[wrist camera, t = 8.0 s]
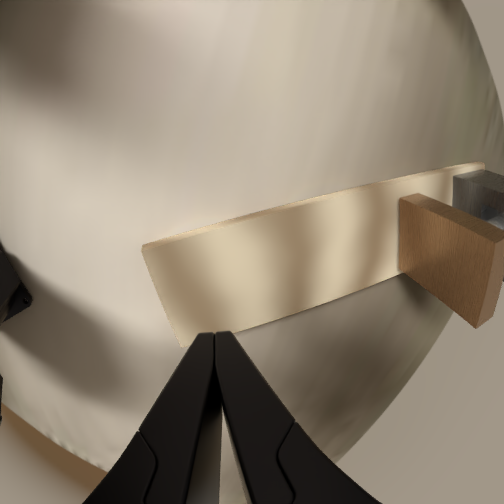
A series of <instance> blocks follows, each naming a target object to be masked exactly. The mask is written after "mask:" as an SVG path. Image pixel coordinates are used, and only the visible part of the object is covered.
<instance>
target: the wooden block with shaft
mask: <svg viewBox="0 0 504 504" xmlns="http://www.w3.org/2000/svg"><path fill="white" fill-rule="evenodd" d="M399 206H400V239H399V268H398V269H400V270H401V271H403V272H404V273H405V274H407V275H408V276H409V277H411V278H412V279H413V280H415V281H416V282H417V283H419V284H420V285H421V286H423V287H424V288H425V289H426V290H428V291H429V292H430V293H432V294H433V295H434V296H436V297H437V298H438V299H439V300H441V301H442V302H443V303H444V304H446V305H447V306H448V307H450V308H451V309H452V310H453V311H455V312H456V313H457V314H458V315H459V316H461V317H462V318H463V319H464V320H466V321H467V322H468V323H469V324H470V325H472V326H473V327H474V328H475V329H476V328H478V327H479V326H481V325H482V324H483V323H485V322H486V321H487V320H489V319H490V318H491V317H492V316H493V314H494V311H495V307H496V304H497V300H498V297H499V292H500V289H501V285H502V281H503V277H504V213H503V214H500V215H498V216H496V217H494V218H492V219H489V220H487V221H483V220H481V219H479V218H477V217H475V216H473V215H470V214H468V213H466V212H464V211H461V210H459V209H457V208H454V207H452V206H450V205H447V204H445V203H442V202H440V201H438V200H435V199H433V198H430V197H428V196H425V195H423V194H420V193H415V194H412V195H408V196H404V197H400V198H399Z"/></svg>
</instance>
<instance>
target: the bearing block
mask: <svg viewBox="0 0 504 504" xmlns="http://www.w3.org/2000/svg"><path fill="white" fill-rule="evenodd" d="M452 207H454V208H457V209H459V210H461V211H464V212H466V213H468V214H470V215H473V216H475V217H477V218H479V219H481V220H483V221H487V220H489V219H492V218H494V217H496V216H498V215H500V214H503V213H504V176H502V175H499V174H496V173H493V172H490V171H487V170H483V169H480V170H476V171H471V172H467V173H463V174H458V175H454V176H453V198H452ZM503 282H504V277H503Z"/></svg>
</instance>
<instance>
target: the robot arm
mask: <svg viewBox="0 0 504 504" xmlns="http://www.w3.org/2000/svg"><path fill="white" fill-rule="evenodd" d="M25 298H26V299H27V300H28V301H26V300H25ZM32 301H33V299H32V296H31V295H30V293H29V292H28V290H27V289H26V288H25V286H24V285H23V283H22V282H21V280H20V279H19V277H18V275H17V274H16V272H15V271H14V269H13V268H12V266H11V264H10V263H9V261H8V260H7V258H6V256H5V255H4V253H3V251H2V250H1V248H0V325H1V324H2V323H3V322H4V321H6V320H8V319H9V318H11V317H13V316H14V315H16V314H18V313H19V312H21V311H23V310H24V309H26V308H28V307H29V306H30V305H31V304H32ZM2 384H3V377H2V376H1V374H0V424H1V422H2V416H1V398H2ZM222 407H223V412H224V417H225V421H226V425H227V429H228V433H229V437H230V441H231V445H232V449H233V453H234V457H235V461H236V464H237V468H238V472H239V475H240V479H241V483H242V486H243V490H244V493H245V497H246V500H247V504H382V503H380V502H379V501H378V500H376V499H375V498H374V497H372V496H371V495H370V494H369V493H367V492H366V491H365V490H364V489H363V488H362V487H360V486H359V485H358V484H357V483H356V482H354V481H353V480H352V479H351V478H350V477H349V476H348V475H346V474H345V473H344V472H343V471H342V470H341V469H340V468H338V467H337V466H336V465H335V464H334V463H333V462H332V461H331V460H330V459H329V458H328V457H327V456H326V455H325V454H324V453H323V452H322V451H321V450H320V449H319V448H318V447H317V446H316V444H315V443H314V442H313V441H312V440H311V439H310V437H309V436H308V435H307V434H306V433H305V431H304V430H303V429H302V428H301V426H300V425H299V424H298V422H295V419H294V417H293V416H292V415H291V414H290V412H289V411H288V410H287V408H286V407H285V406H284V404H283V403H282V402H281V400H280V399H279V398H278V396H277V395H276V394H275V392H274V391H273V389H272V388H271V387H270V385H269V384H268V383H267V381H266V380H265V378H264V377H263V376H262V374H261V373H260V372H259V370H258V369H257V367H256V366H255V365H254V363H253V362H252V360H251V359H250V357H249V356H248V355H247V353H246V352H245V350H244V349H243V348H242V346H241V345H240V343H239V342H238V340H237V339H236V337H235V336H234V334H233V333H232V332H231V331H229V330H228V331H217V332H215V334H214V333H213V332H202V333H198V334H197V336H196V337H195V339H194V341H193V342H192V344H191V345H190V347H189V349H188V350H187V352H186V353H185V355H184V357H183V358H182V360H181V361H180V363H179V365H178V366H177V368H176V369H175V371H174V373H173V374H172V376H171V377H170V379H169V381H168V382H167V384H166V386H165V387H164V389H163V390H162V392H161V394H160V395H159V397H158V398H157V400H156V402H155V403H154V405H153V406H152V408H151V410H150V411H149V413H148V414H147V416H146V418H145V419H144V421H143V422H142V424H141V426H140V427H139V431H140V432H139V431H137V432H136V433H135V435H134V437H133V438H132V440H131V442H130V443H129V445H128V446H127V448H126V449H125V451H124V452H123V454H122V455H121V457H120V458H119V460H118V461H117V462H116V463H115V465H114V466H113V467H112V469H111V470H110V471H109V472H108V474H107V475H106V476H105V477H104V479H103V480H102V481H101V482H100V483H99V484H98V486H97V487H96V488H95V489H94V490H93V492H92V493H91V494H90V495H89V496H88V498H87V499H86V500H85V501H84V502H83V503H82V504H219V488H220V461H221V437H222Z"/></svg>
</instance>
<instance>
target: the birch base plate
mask: <svg viewBox="0 0 504 504" xmlns="http://www.w3.org/2000/svg"><path fill="white" fill-rule="evenodd" d="M480 169H483V170H485V164H484V163H481V162H472V163H467V164H461V165H456V166H451V167H446V168H442V169H437V170H432V171H427V172H422V173H418V174H413V175H408V176H404V177H399V178H395V179H390V180H386V181H381V182H377V183H373V184H368V185H364V186H360V187H356V188H351V189H347V190H343V191H339V192H335V193H331V194H326V195H322V196H318V197H314V198H310V199H306V200H302V201H299V202H295V203H291V204H287V205H283V206H279V207H275V208H272V209H268V210H264V211H260V212H256V213H253V214H249V215H245V216H242V217H238V218H234V219H231V220H227V221H224V222H220V223H216V224H213V225H209V226H206V227H202V228H199V229H195V230H192V231H188V232H185V233H182V234H178V235H175V236H171V237H168V238H165V239H161V240H158V241H155V242H151V243H148V244H145V245H142V250H141V252H142V255H143V257H144V260H145V263H146V265H147V268H148V271H149V273H150V276H151V278H152V281H153V283H154V286H155V288H156V291H157V293H158V296H159V298H160V301H161V303H162V305H163V308H164V310H165V313H166V315H167V317H168V320H169V322H170V324H171V326H172V329H173V331H174V333H175V335H176V338H177V340H178V342H179V344H180V346H181V348H183V347H187V346H190V345H191V344H192V342H193V341H194V339H195V337H196V336H197V334H198V333H202V332H213V333H214V334H215V332H217V331H228V330H229V331H231V332H232V333H236V332H239V331H242V330H245V329H249V328H252V327H255V326H258V325H261V324H264V323H268V322H271V321H274V320H277V319H280V318H283V317H286V316H289V315H292V314H295V313H298V312H301V311H303V310H306V309H309V308H312V307H315V306H318V305H321V304H323V303H326V302H329V301H332V300H334V299H337V298H340V297H342V296H345V295H348V294H350V293H353V292H356V291H358V290H361V289H363V288H366V287H369V286H371V285H374V284H376V283H379V282H381V281H384V280H386V279H389V278H391V277H394V276H396V275H398V274H401V273H403V271H401V270H400V269H398V268H399V239H400V206H399V198H400V197H404V196H408V195H412V194H415V193H420V194H423V195H425V196H428V197H430V198H433V199H435V200H438V201H440V202H442V203H445V204H447V205H450V206H452V198H453V176H454V175H458V174H463V173H467V172H471V171H476V170H480Z"/></svg>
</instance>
